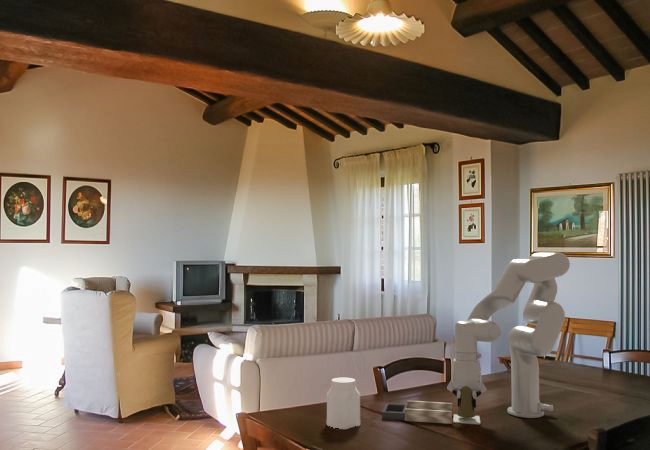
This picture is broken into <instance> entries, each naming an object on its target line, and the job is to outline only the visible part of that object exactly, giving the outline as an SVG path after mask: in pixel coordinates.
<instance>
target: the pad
mask: <svg viewBox="0 0 650 450" xmlns="http://www.w3.org/2000/svg"><path fill="white" fill-rule="evenodd" d="M452 416H453V417H452V424H453V423H455V424H468V425H481V418H480V415H475V417H472V418H465V417H460V416H458V414H456V413H455V414H454V413H453V415H452Z"/></svg>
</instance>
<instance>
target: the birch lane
mask: <svg viewBox="0 0 650 450" xmlns="http://www.w3.org/2000/svg"><path fill="white" fill-rule="evenodd" d="M406 405H408V408H405V421H404V422H420V423H421V422H422V423H433V424H435V423H437V424H447V425H449V424H453V417H452V416H453V402H439V401H422V400H421V401H420V400H407V403H406Z"/></svg>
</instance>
